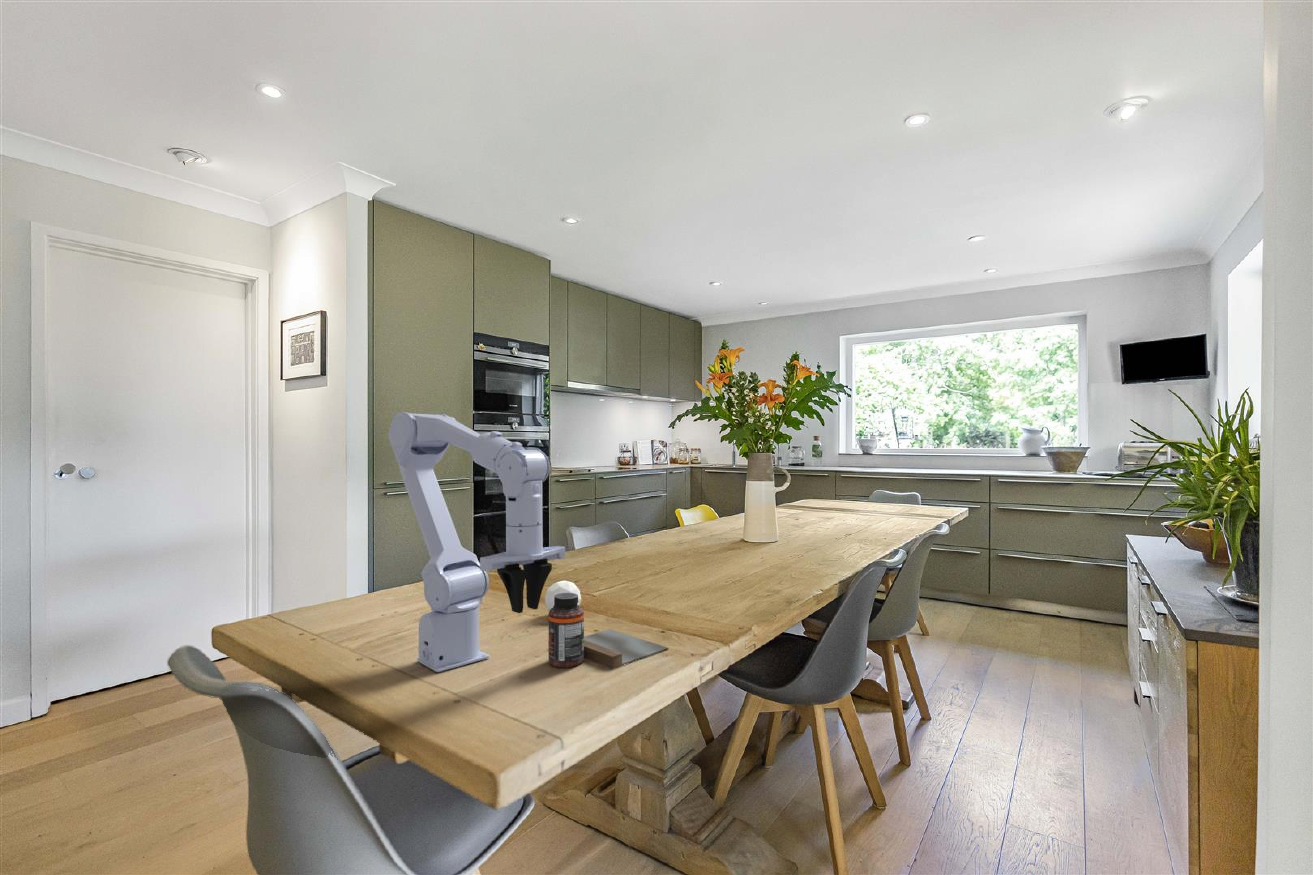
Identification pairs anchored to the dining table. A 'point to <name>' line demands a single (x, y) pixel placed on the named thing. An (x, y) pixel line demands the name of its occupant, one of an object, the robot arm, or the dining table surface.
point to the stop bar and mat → (617, 648)
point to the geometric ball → (560, 588)
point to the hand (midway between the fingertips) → (525, 609)
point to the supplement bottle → (566, 631)
